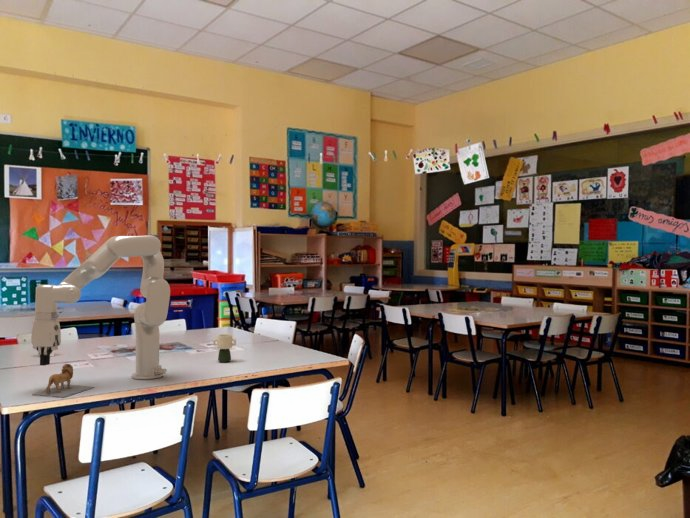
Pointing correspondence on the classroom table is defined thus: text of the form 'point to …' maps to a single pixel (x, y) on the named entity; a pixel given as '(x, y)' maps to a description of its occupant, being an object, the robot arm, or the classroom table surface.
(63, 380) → the lion figurine
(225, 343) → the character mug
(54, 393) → the felt mat
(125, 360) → the classroom table surface
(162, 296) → the robot arm
